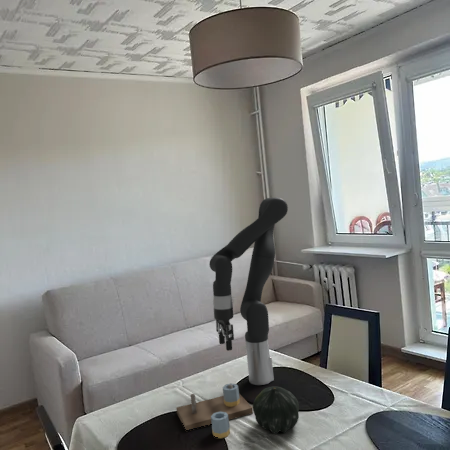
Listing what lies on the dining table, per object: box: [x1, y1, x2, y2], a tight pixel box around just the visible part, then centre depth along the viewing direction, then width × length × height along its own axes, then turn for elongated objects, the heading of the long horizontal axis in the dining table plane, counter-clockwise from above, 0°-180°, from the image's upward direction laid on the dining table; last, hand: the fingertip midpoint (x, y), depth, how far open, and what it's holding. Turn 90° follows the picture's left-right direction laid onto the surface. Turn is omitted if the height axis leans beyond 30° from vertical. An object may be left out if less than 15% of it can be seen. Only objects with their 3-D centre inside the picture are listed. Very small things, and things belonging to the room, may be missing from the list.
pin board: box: [175, 383, 254, 431], centre depth 158 cm, size 24×14×9 cm, turn 109°
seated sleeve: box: [222, 383, 240, 407], centre depth 160 cm, size 5×5×6 cm
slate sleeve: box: [211, 412, 231, 439], centre depth 144 cm, size 5×5×6 cm
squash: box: [252, 385, 300, 435], centre depth 144 cm, size 14×15×15 cm
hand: (225, 346), depth 175 cm, fingers open, 8 cm apart
